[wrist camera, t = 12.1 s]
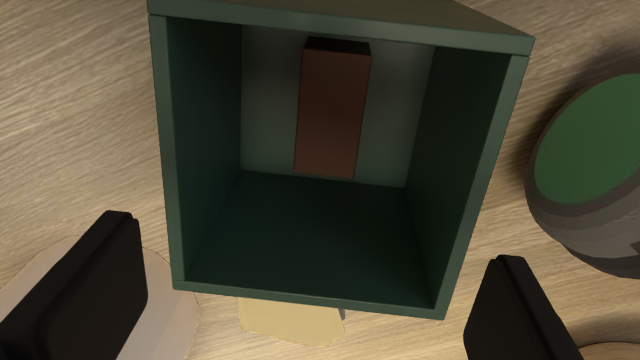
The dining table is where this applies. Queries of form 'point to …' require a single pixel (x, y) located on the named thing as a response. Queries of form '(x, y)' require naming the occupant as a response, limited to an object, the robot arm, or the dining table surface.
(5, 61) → the dining table surface
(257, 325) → the stacked layers on plate
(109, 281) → the robot arm
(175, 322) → the container
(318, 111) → the reddish brown block
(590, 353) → the vase
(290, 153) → the bin
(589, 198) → the headphones
